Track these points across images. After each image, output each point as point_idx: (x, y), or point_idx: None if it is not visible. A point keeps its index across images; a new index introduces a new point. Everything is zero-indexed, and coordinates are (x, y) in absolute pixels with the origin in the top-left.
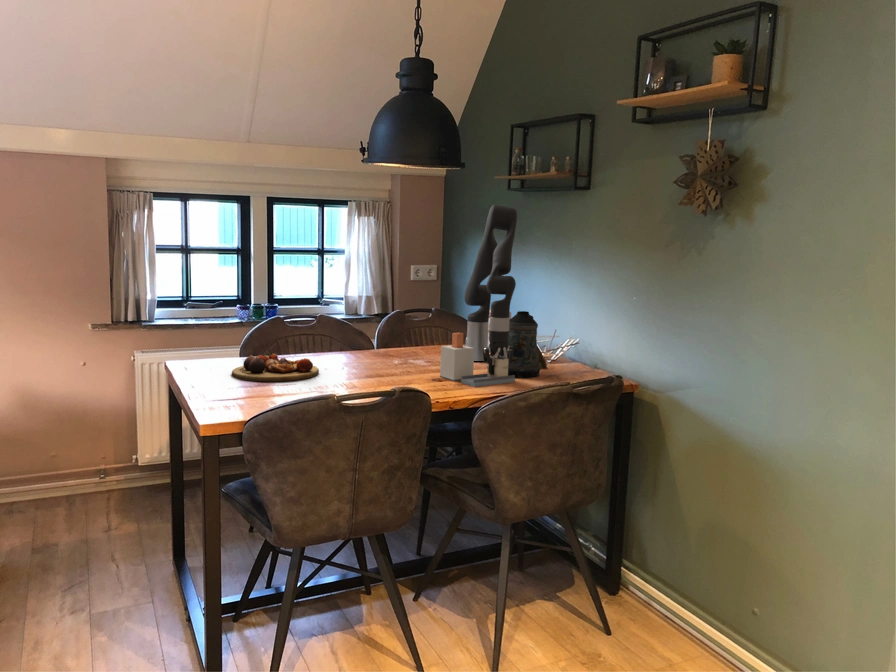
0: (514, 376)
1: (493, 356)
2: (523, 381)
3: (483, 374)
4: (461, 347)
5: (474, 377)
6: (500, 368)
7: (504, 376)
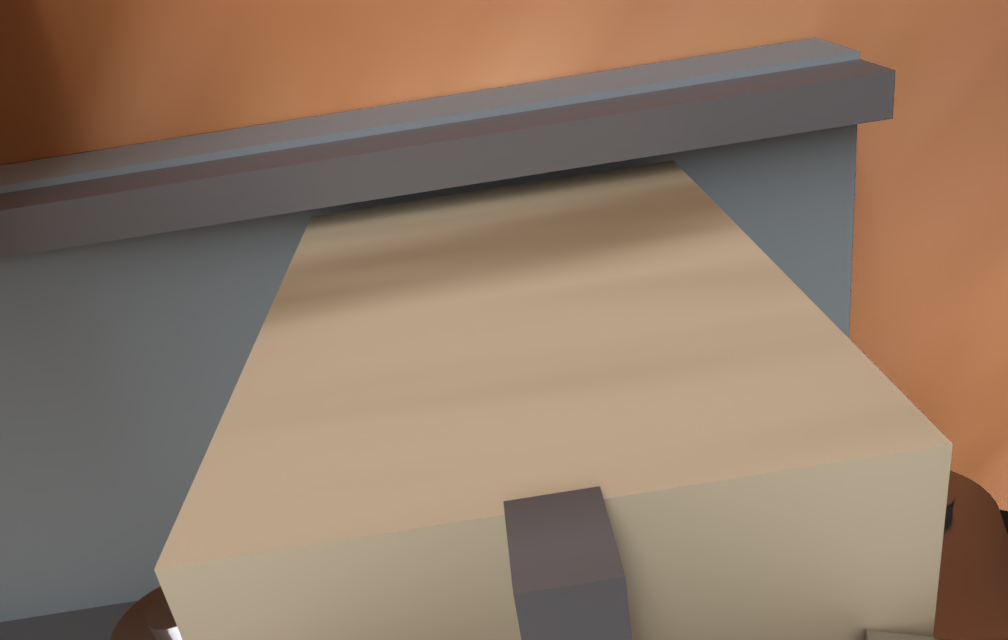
0: None
1: (517, 618)
2: (1003, 464)
3: (172, 230)
4: None
5: None
6: None
7: None
